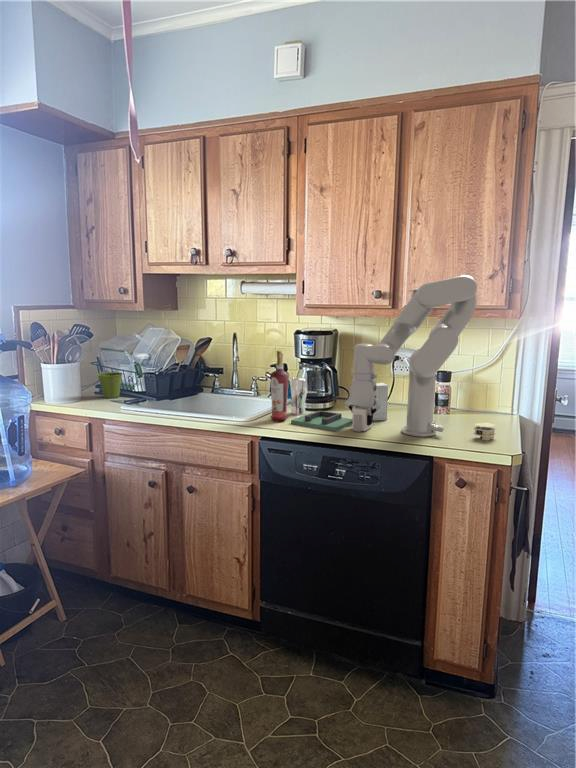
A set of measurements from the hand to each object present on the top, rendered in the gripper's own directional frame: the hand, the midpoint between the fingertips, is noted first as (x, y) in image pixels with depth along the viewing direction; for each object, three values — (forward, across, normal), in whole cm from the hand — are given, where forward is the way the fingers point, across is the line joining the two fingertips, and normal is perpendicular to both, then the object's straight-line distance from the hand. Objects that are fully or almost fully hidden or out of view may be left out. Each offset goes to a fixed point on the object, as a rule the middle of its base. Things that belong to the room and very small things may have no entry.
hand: (362, 423), depth 200 cm
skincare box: (+3, +2, -18) cm, 18 cm away
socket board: (+2, +16, +1) cm, 17 cm away
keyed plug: (+2, 0, 0) cm, 2 cm away
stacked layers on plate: (+4, -42, -14) cm, 44 cm away
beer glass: (+2, +34, -8) cm, 34 cm away
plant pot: (0, +124, +17) cm, 126 cm away
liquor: (+2, +34, +7) cm, 34 cm away
